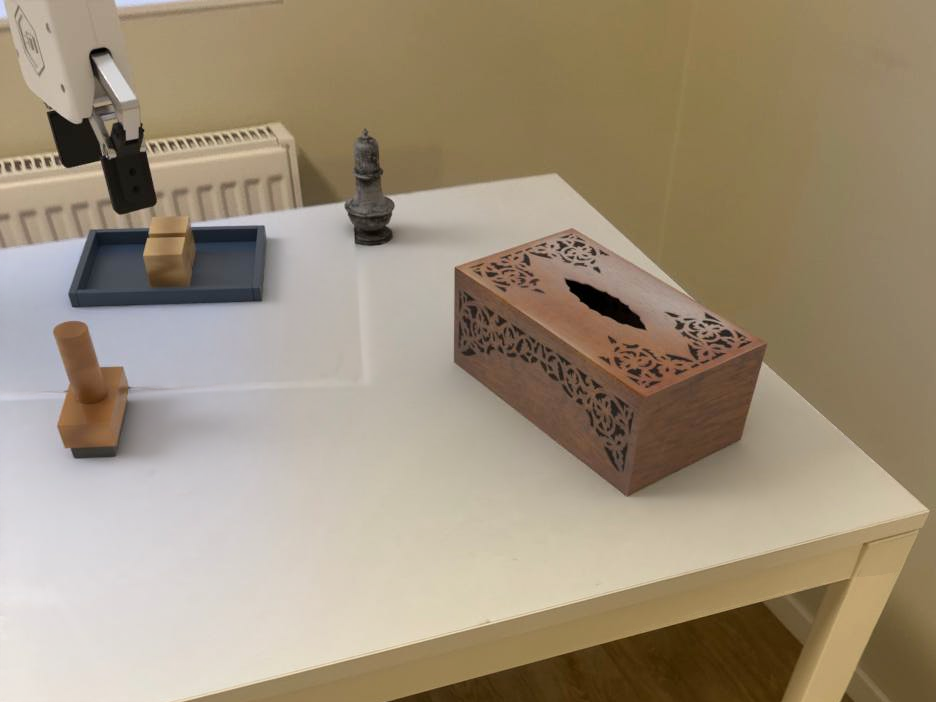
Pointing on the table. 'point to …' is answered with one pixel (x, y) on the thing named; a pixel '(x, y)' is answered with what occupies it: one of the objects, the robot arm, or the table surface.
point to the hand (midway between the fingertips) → (108, 185)
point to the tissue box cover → (604, 356)
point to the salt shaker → (369, 195)
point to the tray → (213, 281)
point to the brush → (89, 395)
